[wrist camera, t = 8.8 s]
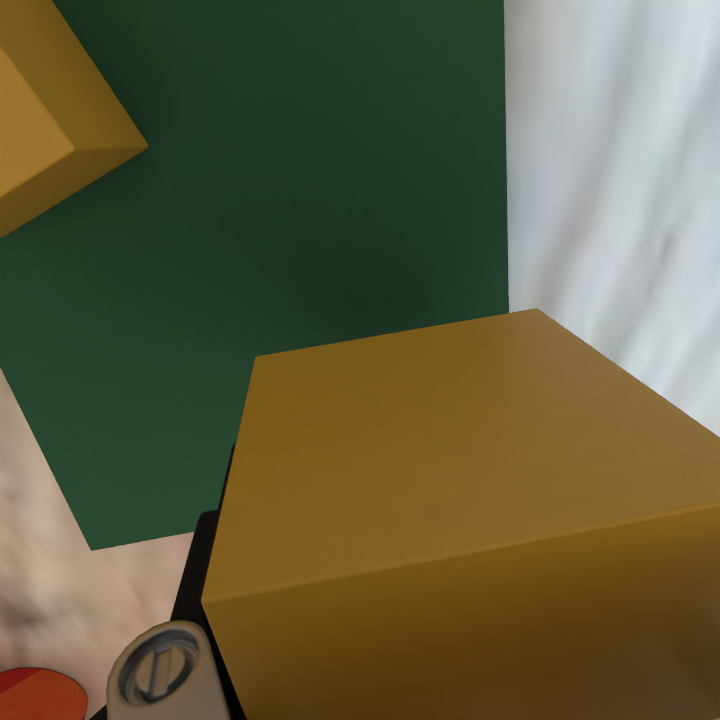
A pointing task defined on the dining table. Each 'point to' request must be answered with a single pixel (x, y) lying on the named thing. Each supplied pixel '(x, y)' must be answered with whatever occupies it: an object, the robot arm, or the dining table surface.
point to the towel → (249, 229)
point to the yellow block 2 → (467, 534)
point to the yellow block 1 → (52, 114)
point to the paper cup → (40, 696)
